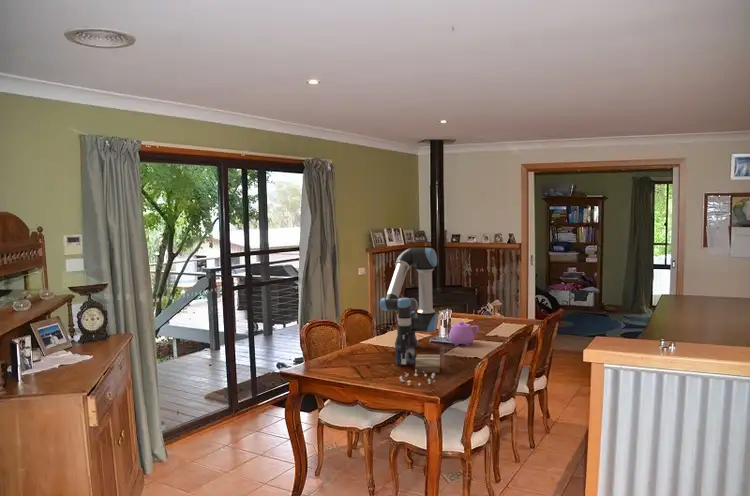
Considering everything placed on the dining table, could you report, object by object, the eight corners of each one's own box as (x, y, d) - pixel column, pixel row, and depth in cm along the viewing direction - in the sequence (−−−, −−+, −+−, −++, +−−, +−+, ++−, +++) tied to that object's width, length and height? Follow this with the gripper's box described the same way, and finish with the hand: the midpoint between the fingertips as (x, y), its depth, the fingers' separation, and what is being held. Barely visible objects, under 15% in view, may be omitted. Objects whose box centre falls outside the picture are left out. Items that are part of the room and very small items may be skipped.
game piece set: (433, 375, 315) (433, 368, 315) (438, 386, 295) (438, 378, 295) (397, 376, 314) (397, 369, 314) (400, 387, 294) (400, 380, 294)
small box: (397, 366, 333) (397, 348, 332) (395, 363, 339) (394, 345, 338) (415, 364, 335) (415, 346, 334) (412, 361, 341) (412, 344, 340)
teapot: (477, 340, 392) (477, 318, 391) (480, 347, 372) (480, 324, 371) (448, 340, 394) (448, 318, 393) (449, 347, 374) (449, 324, 373)
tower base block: (416, 368, 329) (416, 361, 328) (439, 368, 327) (439, 361, 326) (415, 373, 319) (415, 366, 318) (439, 373, 317) (439, 366, 316)
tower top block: (417, 361, 328) (417, 354, 328) (440, 361, 326) (440, 354, 326) (415, 366, 319) (415, 358, 318) (439, 366, 317) (439, 359, 316)
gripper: (400, 320, 348) (401, 355, 349) (395, 329, 324) (396, 366, 325) (413, 320, 347) (413, 355, 348) (408, 329, 322) (409, 367, 324)
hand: (405, 361), depth 337 cm, fingers open, 13 cm apart
